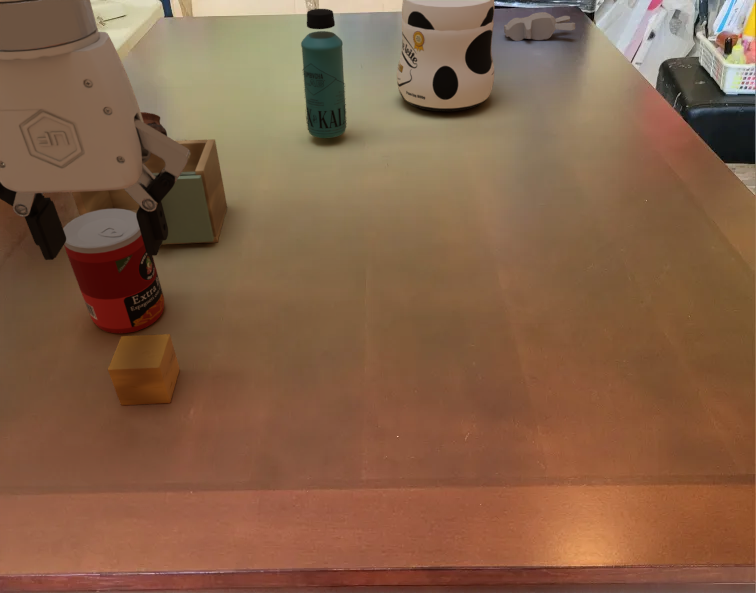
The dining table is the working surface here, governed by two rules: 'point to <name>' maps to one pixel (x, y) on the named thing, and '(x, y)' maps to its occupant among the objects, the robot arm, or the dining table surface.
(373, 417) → the dining table surface
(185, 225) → the closet door
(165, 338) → the block
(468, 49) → the milk container
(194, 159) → the cupboard
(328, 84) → the beverage bottle
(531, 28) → the bunny figurine
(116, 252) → the canned food
